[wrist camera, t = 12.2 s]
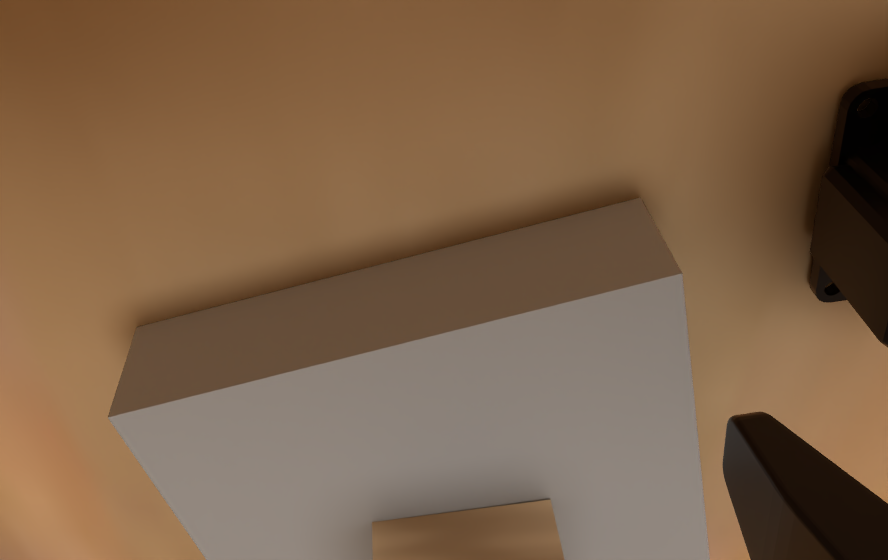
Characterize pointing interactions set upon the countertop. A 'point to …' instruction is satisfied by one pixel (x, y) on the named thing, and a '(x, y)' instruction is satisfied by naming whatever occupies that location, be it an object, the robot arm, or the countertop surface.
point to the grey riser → (434, 399)
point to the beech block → (472, 535)
